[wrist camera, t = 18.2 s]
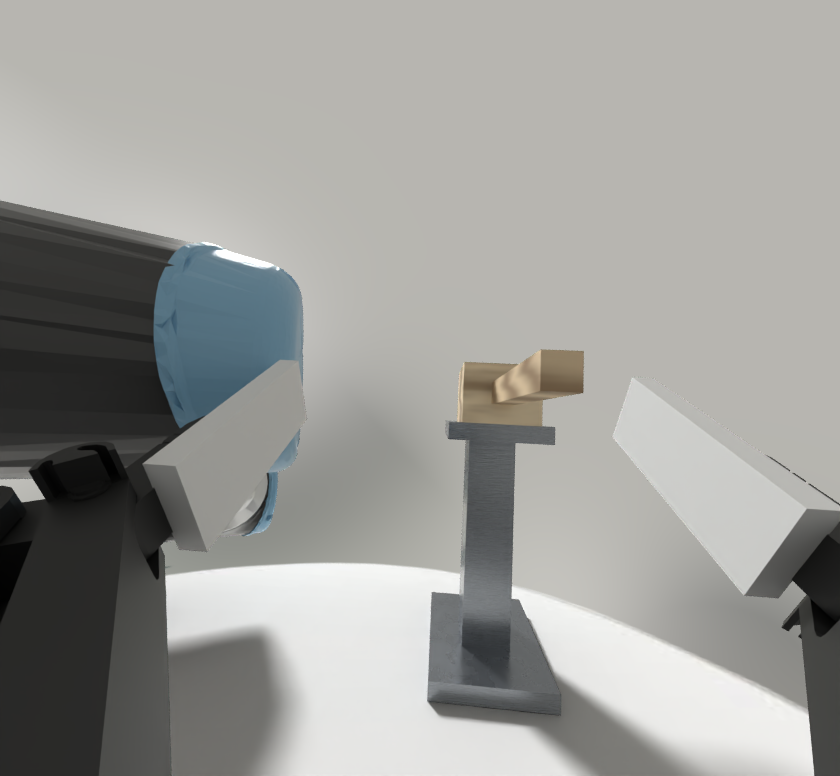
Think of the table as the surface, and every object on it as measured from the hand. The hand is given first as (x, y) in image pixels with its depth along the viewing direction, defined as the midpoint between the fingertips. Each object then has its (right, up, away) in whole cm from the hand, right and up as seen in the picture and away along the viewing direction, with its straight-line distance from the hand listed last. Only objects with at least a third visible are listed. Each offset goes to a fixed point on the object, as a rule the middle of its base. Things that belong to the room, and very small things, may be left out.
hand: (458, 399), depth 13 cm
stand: (+7, -34, +30) cm, 46 cm away
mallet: (+7, -3, +20) cm, 21 cm away
